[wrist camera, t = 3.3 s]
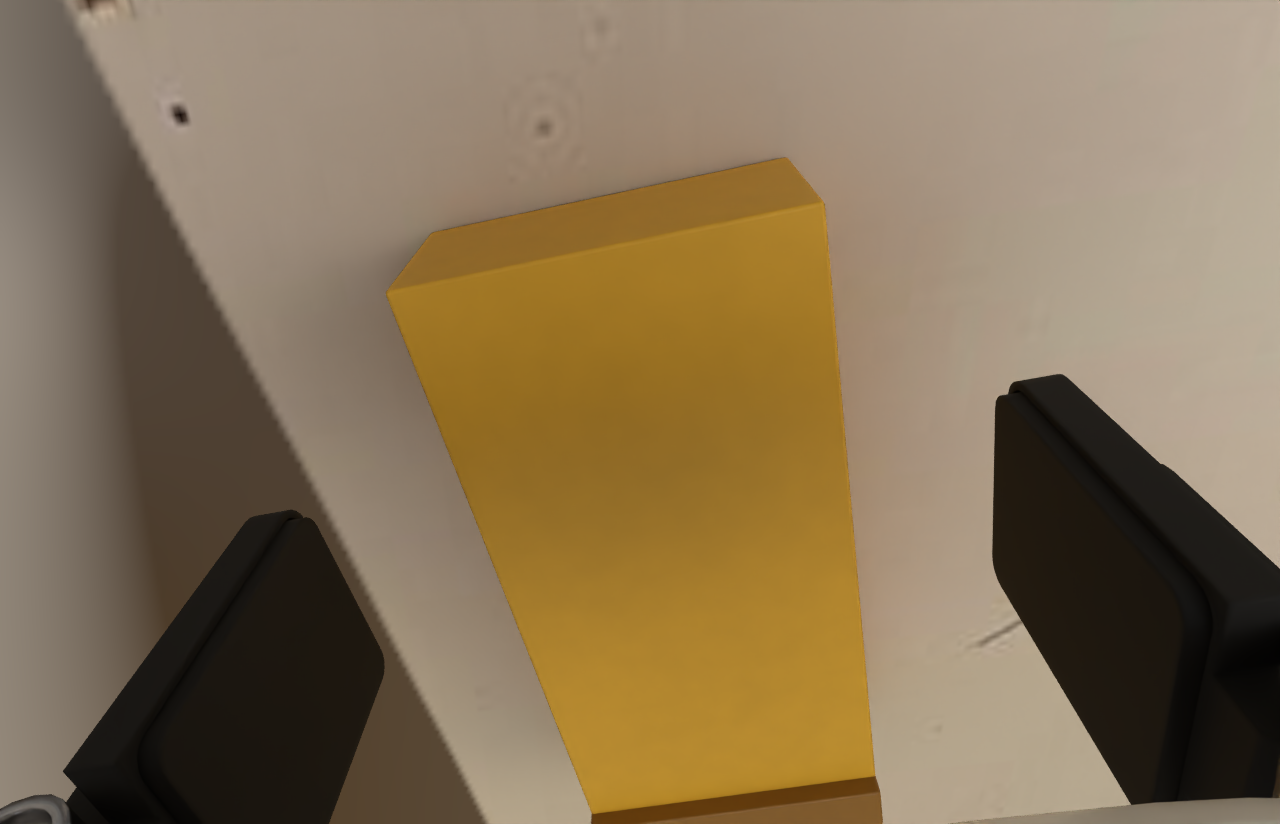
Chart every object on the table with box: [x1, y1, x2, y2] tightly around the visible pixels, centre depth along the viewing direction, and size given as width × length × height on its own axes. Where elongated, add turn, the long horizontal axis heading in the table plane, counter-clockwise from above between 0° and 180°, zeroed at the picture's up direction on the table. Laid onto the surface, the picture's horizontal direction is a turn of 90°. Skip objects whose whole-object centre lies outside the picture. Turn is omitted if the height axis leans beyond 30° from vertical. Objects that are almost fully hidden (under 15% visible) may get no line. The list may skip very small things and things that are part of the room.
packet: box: [386, 158, 883, 824], centre depth 16 cm, size 14×6×3 cm, turn 12°
